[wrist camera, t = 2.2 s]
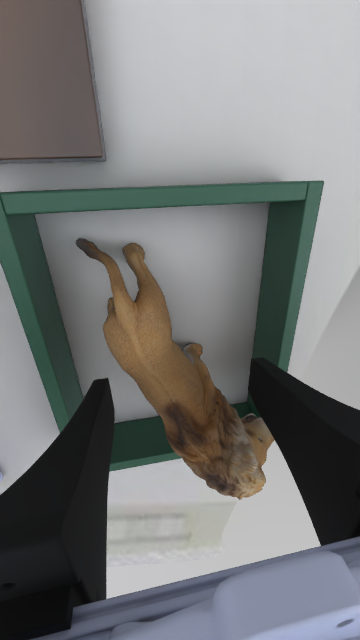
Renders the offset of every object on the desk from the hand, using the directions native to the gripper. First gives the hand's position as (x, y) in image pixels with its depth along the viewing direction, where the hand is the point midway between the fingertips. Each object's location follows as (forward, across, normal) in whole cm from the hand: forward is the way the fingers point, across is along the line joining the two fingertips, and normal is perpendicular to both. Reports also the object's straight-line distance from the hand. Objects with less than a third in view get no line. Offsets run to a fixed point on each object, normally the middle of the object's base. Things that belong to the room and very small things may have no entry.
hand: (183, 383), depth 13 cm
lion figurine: (+6, 0, 0) cm, 6 cm away
